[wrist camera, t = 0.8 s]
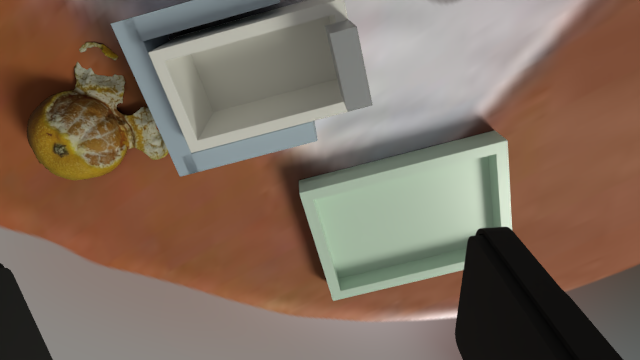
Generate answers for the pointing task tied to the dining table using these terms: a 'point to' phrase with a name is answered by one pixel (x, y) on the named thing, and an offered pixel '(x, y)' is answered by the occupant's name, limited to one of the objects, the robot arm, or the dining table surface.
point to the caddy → (263, 73)
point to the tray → (407, 213)
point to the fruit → (90, 127)
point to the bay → (136, 43)
